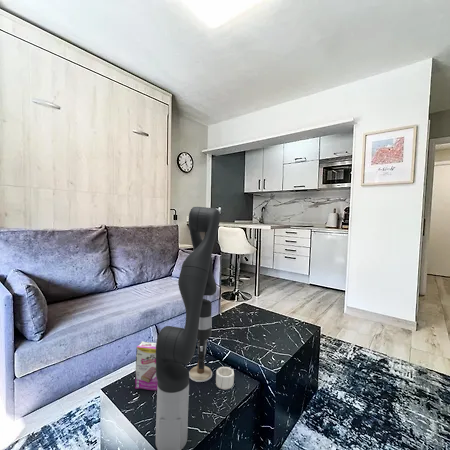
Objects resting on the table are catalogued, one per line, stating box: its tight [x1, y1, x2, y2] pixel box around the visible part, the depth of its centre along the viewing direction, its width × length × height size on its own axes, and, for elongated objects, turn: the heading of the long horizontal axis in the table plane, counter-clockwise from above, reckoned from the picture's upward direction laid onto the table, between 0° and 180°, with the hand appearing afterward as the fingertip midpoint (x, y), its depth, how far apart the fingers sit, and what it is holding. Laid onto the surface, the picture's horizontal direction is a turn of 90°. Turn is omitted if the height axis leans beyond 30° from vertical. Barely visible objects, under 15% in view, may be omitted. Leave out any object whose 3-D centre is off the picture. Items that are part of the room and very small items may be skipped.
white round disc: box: [189, 370, 213, 383], centre depth 105 cm, size 10×10×1 cm
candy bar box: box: [134, 341, 158, 392], centre depth 96 cm, size 11×5×16 cm, turn 84°
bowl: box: [215, 366, 235, 390], centre depth 100 cm, size 7×7×5 cm
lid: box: [189, 360, 212, 380], centre depth 105 cm, size 9×9×5 cm
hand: (201, 362), depth 106 cm, fingers open, 8 cm apart
